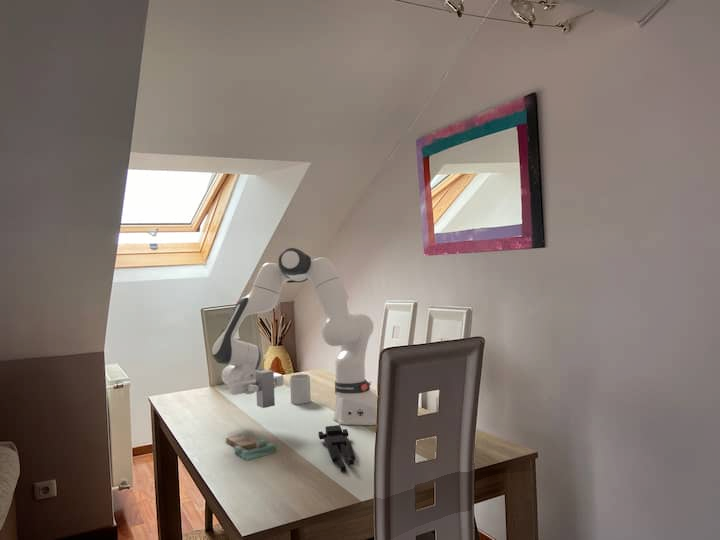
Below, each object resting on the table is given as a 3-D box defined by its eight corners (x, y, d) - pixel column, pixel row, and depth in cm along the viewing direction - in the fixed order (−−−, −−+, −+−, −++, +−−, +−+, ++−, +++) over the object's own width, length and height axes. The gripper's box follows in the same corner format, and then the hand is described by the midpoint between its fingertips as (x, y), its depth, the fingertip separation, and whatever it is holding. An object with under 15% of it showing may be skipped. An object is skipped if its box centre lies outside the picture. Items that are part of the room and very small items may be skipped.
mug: (313, 402, 231) (312, 377, 230) (293, 405, 228) (292, 379, 228) (306, 396, 242) (305, 372, 242) (287, 398, 239) (286, 374, 239)
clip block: (257, 405, 190) (255, 371, 189) (268, 403, 192) (267, 369, 192) (263, 408, 186) (261, 373, 186) (274, 405, 189) (273, 371, 189)
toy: (364, 475, 154) (346, 437, 184) (364, 458, 154) (346, 423, 183) (331, 479, 152) (318, 440, 182) (330, 462, 152) (318, 426, 182)
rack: (219, 443, 182) (219, 437, 182) (246, 437, 188) (246, 431, 188) (247, 460, 166) (246, 453, 166) (275, 452, 172) (275, 445, 172)
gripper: (220, 377, 193) (238, 383, 182) (272, 368, 205) (291, 373, 195) (221, 395, 193) (238, 402, 182) (272, 385, 206) (291, 391, 195)
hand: (266, 387), depth 188 cm, fingers closed on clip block, 4 cm apart
